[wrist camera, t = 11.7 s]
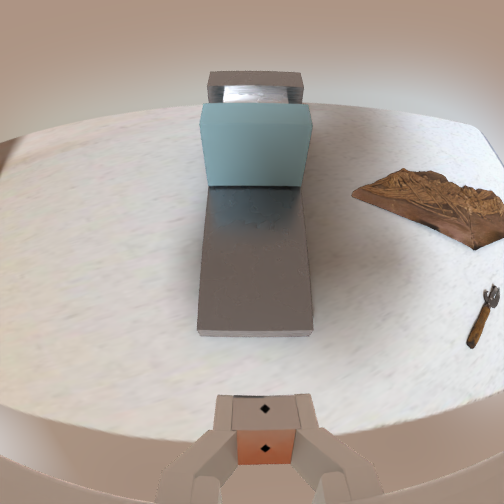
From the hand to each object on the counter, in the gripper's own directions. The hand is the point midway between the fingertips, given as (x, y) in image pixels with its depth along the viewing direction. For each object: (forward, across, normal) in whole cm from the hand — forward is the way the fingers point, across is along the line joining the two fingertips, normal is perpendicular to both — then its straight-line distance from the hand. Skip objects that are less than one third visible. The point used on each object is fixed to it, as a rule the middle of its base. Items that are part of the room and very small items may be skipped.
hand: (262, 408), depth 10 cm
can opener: (+15, -24, +6) cm, 30 cm away
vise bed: (+24, 0, -2) cm, 24 cm away
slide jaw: (+24, 0, -6) cm, 25 cm away
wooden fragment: (+25, -24, -3) cm, 35 cm away
